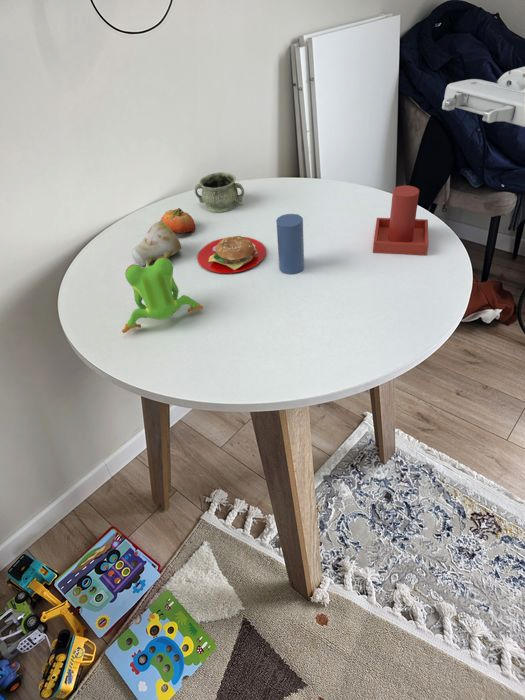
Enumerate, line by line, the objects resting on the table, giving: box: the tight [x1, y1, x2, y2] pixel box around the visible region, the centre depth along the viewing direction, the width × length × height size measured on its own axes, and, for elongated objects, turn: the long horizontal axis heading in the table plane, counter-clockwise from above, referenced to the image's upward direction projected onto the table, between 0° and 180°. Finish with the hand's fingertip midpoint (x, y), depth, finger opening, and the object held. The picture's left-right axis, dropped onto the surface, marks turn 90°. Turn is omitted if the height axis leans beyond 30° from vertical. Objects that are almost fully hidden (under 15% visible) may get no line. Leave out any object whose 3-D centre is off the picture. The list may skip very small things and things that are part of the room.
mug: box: [130, 220, 182, 267], centre depth 99 cm, size 8×10×10 cm
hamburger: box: [197, 235, 267, 274], centre depth 97 cm, size 14×14×6 cm
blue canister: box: [275, 213, 305, 275], centre depth 91 cm, size 5×5×10 cm
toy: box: [121, 257, 204, 334], centre depth 83 cm, size 14×9×10 cm, turn 112°
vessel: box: [194, 171, 245, 213], centre depth 115 cm, size 12×9×6 cm
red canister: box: [388, 185, 420, 243], centre depth 95 cm, size 5×5×10 cm
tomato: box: [160, 207, 196, 234], centre depth 108 cm, size 8×7×7 cm
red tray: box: [372, 217, 429, 256], centre depth 98 cm, size 10×10×2 cm
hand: (464, 111), depth 88 cm, fingers open, 8 cm apart
